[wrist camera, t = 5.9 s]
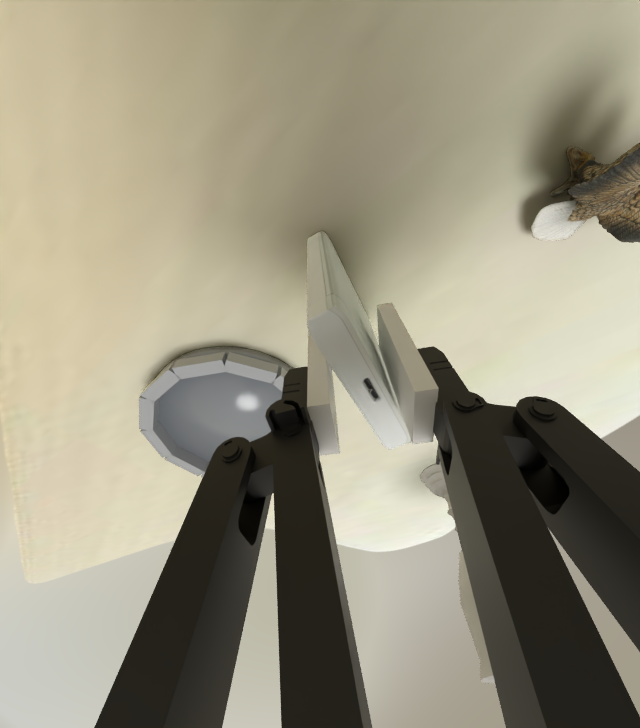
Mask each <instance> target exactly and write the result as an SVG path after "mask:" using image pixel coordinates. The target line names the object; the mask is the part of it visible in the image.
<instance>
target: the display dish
mask: <svg viewBox="0 0 640 728" xmlns="http://www.w3.org/2000/svg"><path fill="white" fill-rule="evenodd" d="M289 369H293V368H292V367H291V366H289V365H287V364H286V363H284V362H282V361H281V360H279V359H277V358H274V357H272V356H270V355H268V354H265V353H262V352H259V351H255V350H250V349H246V348H239V347H209V348H203V349H199V350H194V351H191V352H189V353H186V354H183V355H181V356H180V357H178V358H176V359H174V360H173V361H171V362H170V363H169V364H168V365H166V366H165V367H164V368H163V369H162V371H161V372H160V373H159V374H158V376H157V377H156V378H155V379H154V380H153V381H152V382H151V383H150V384H149V385H148V386H147V387H146V388H145V389H144V391H143V392H142V394H141V396H140V397H139V429H141V433H142V434H143V435H144V436H145V437H146V439H147V440H148V441H149V442H150V443H151V445H152V446H153V447H154V448H155V449H156V451H157V452H158V453H159V454H160V456H161V457H165V460H167V461H169V462H171V463H173V464H175V465H177V466H179V467H181V468H183V469H185V470H187V471H189V472H191V473H193V474H195V475H197V476H199V475H201V474H202V476H201V477H203V476H204V474H205V472H206V469H207V467H208V465H209V462H210V460H211V458H212V455H213V453H214V452H215V450H216V449H217V447H218V446H219V445H220V444H222V443H223V442H224V441H226V440H228V439H230V438H234V437H244V438H245V439H247V440H248V441H249V442H251V441H254V440H256V439H258V438H261V437H263V436H265V435H267V434H268V433H269V432H271V429H270V427H269V425H268V422H267V420H266V417H265V415H266V411H267V409H268V408H269V407H270V405H272V404H273V403H274V402H276V401H278V400H280V399H281V398H282V390H283V382H284V377H285V375H286V374H287V372H288V371H289Z"/></svg>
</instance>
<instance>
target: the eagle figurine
mask: <svg viewBox="0 0 640 728" xmlns="http://www.w3.org/2000/svg"><path fill="white" fill-rule="evenodd" d="M566 153H567V157H568V159H569V162H570V166H571V177H570V178H569V179H568V180H567V181H566V182H565V183H564V184H563V185H562V186H561V187H559V188H556V189H555V190H553V191H552V192H551V193H550V195H551V196H555V195H558V194H560V193H562V192H563V191H565V190H567V189H568V188H570V189H569V190H568V194H570V195H571V197H570V200H569V201H564V202H558V203H553V204H550V205H548V206H546V207H544V208H542V209H541V210H540V211H539V213H538V214H537V216H536V217H535V220H534V222H533V224H532V226H531V231H532V236H533V237H534V238H537V239H538V240H547V241H557V240H564V239H567V238H568V237H570V236H572V234H574V233H575V231H576V230H577V229H578V228H579V227H580V226H581V225H582V224H583V223H584V222H585V221H586V220H587V219H589V218H591V217H593V216H597V217H598V219H599V224H601V225H602V227H603V228H604V229H607V232H609V233H611V234H612V235H613V236H614V237H615V238H616V239H618V240H619V241H621V242H632V243H633V242H640V143H638V144H637V145H635V146H634V147H632V148H631V149H630V150H628V151H627V152H626V153H625V154H624V155H622V156H621V157H620V158H618V159H617V160H616V161H615V162H613V163H612V164H610V165H603V164H601V163H596V162H595V158H593V157H592V155H591V153H588V152H585V151H583V150H581V149H580V148H578V147H574V148H573V147H568V148H567V152H566Z"/></svg>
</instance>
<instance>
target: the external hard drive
mask: <svg viewBox="0 0 640 728" xmlns="http://www.w3.org/2000/svg"><path fill="white" fill-rule="evenodd" d="M307 326H308V330H309V333H310V335H311V337H312V339H313V340H314V342H315V343H316V345H317V346H318V348H319V349H320V351H321V352H322V354H323V355H324V357H325V358H326V360H327V361H328V363H329V364H330V366H331V367H332V369H333V370H334V372H335V373H336V375H337V376H338V378H339V379H340V381H341V382H342V384H343V385H344V387H345V389H346V390H347V392H348V393H349V395H350V396H351V398H352V399H353V401H354V402H355V403H356V405H357V406H358V408H359V409H360V411H361V413H362V414H363V416H364V417H365V419H366V420H367V422H368V423H369V425H370V426H371V428H372V430H373V431H374V433H375V434H376V436H377V437H378V439H379V440H380V442H381V443H382V445H383V446H384V447H386V448H388V449H390V450H391V449H394V448H397V447H400V446H402V445H405V444H408V443H411V438H410V435H409V432H408V429H407V427H406V424H405V421H404V418H403V415H402V412H401V409H400V407H399V404H398V401H397V398H396V395H395V392H394V390H393V387H392V384H391V381H390V378H389V375H388V372H387V370H386V367H385V364H384V361H383V358H382V355H381V352H380V350H379V345H378V342H377V340H376V337H375V334H374V332H373V329H372V327H371V324H370V321H369V319H368V316H367V314H366V312H365V310H364V308H363V306H362V304H361V302H360V300H359V298H358V296H357V294H356V292H355V289H354V287H353V285H352V283H351V281H350V279H349V277H348V275H347V273H346V271H345V269H344V267H343V265H342V263H341V261H340V259H339V257H338V255H337V253H336V251H335V249H334V247H333V245H332V243H331V241H330V239H329V237H328V235H327V234H326V233H325V232H323V231H320V232H318V233H316V234H314V235H313V236H311V237H309V238H308V240H307Z"/></svg>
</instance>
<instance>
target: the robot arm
mask: <svg viewBox="0 0 640 728" xmlns="http://www.w3.org/2000/svg"><path fill="white" fill-rule="evenodd" d="M377 317H378V335H379V350H380V352H381V355H382V358H383V361H384V364H385V367H386V370H387V372H388V375H389V378H390V381H391V384H392V387H393V390H394V392H395V395H396V398H397V401H398V404H399V407H400V409H401V412H402V415H403V418H404V421H405V424H406V427H407V429H408V432H409V435H410V438H411V441H412V444H417V443H425V442H433V436H434V434H435V436H436V438H437V440H438V450H437V458H436V465H439V464H440V463H441V467H442V471H443V475H444V479H445V483H446V487H447V491H448V495H449V499H450V503H451V507H452V511H453V515H454V519H455V523H456V527H457V531H458V535H459V540H460V544H461V547H462V552H463V556H464V560H465V564H466V568H467V572H468V576H469V580H470V584H471V588H472V592H473V596H474V600H475V604H476V608H477V612H478V616H479V620H480V624H481V628H482V632H483V636H484V640H485V644H486V648H487V652H488V656H489V660H490V664H491V668H492V672H493V676H494V680H495V684H496V688H497V693H498V697H499V701H500V705H501V708H502V713H503V717H504V721H505V725H506V728H640V717H639V714H638V712H637V710H636V708H635V706H634V704H633V702H632V700H631V698H630V696H629V694H628V692H627V690H626V688H625V686H624V683H623V681H622V679H621V677H620V675H619V673H618V671H617V669H616V667H615V665H614V663H613V661H612V659H611V657H610V655H609V653H608V651H607V649H606V647H605V644H604V642H603V640H602V639H601V636H600V634H599V632H598V630H597V628H596V626H595V624H594V622H593V620H592V618H591V616H590V614H589V612H588V610H587V607H586V605H585V603H584V602H583V600H582V597H581V595H580V593H579V591H578V589H577V587H576V585H575V583H574V581H573V579H572V577H571V575H570V573H569V571H568V568H567V567H566V564H565V562H564V560H563V558H562V556H561V554H560V552H559V550H558V548H557V546H556V544H555V542H554V540H553V538H552V536H551V534H550V532H549V530H550V531H551V532H552V533H553V535H554V536H555V538H556V539H557V540H558V542H559V543H560V544H561V546H562V547H563V548H564V550H565V551H566V553H567V554H568V555H569V557H570V558H571V559H572V561H573V562H574V563H575V565H576V566H577V567H578V569H579V570H580V571H581V573H582V574H583V575H584V577H585V578H586V580H587V581H588V582H589V584H590V585H591V586H592V588H593V589H594V590H595V592H596V593H597V594H598V596H599V597H600V598H601V600H602V601H603V602H604V604H605V605H606V606H607V608H608V609H609V611H610V612H611V613H612V615H613V616H614V617H615V619H616V620H617V621H618V623H619V624H620V625H621V627H622V628H623V629H624V631H625V632H626V634H627V635H628V636H629V638H630V639H631V640H632V642H633V643H634V644H635V646H636V647H637V648H638V650H639V651H640V472H639V471H638V470H637V469H636V468H634V467H633V466H632V465H631V464H630V463H629V462H627V461H626V460H625V459H624V458H623V457H621V456H620V455H619V454H618V453H617V452H616V451H615V450H613V449H612V448H611V447H610V446H609V445H607V444H606V443H605V442H604V441H603V440H602V439H600V438H599V437H598V436H597V435H596V434H595V433H593V432H592V431H591V430H590V429H589V428H588V427H586V426H585V425H584V424H583V423H582V422H581V421H579V420H578V419H577V418H576V417H575V416H574V415H572V414H571V413H570V412H569V411H568V410H567V409H565V408H564V407H563V406H561V405H560V404H558V403H557V402H555V401H552V400H550V399H547V398H542V397H536V396H534V397H526V398H523V399H521V400H520V401H519V402H518V403H517V405H516V407H513V406H503V405H494V404H489V403H486V401H485V400H484V399H483V398H482V397H480V396H479V395H477V394H475V393H472V392H469V391H468V389H467V388H466V386H465V385H464V383H463V382H462V380H461V379H460V377H459V376H458V374H457V373H456V371H455V370H454V368H452V365H451V364H450V362H448V359H447V358H446V356H445V355H444V353H443V352H441V351H440V350H438V349H437V348H435V347H427V348H421V349H417V348H416V346H415V344H414V342H413V341H412V339H411V337H410V335H409V333H408V331H407V330H406V328H405V326H404V324H403V322H402V320H401V319H400V317H399V315H398V313H397V311H396V309H395V308H394V306H393V304H392V303H387V304H381V305H377ZM265 417H266V420H267V422H268V425H269V427H270V429H271V432H269V433H268V434H267V435H265V436H263V437H261V438H258V439H256V440H254V441H251V442H249V441H248V440H247V439H245V438H244V437H234V438H230V439H228V440H226V441H224V442H223V443H222V444H220V445H219V446H218V447H217V449H216V450H215V452H214V453H213V455H212V458H211V460H210V462H209V465H208V467H207V469H206V472H205V474H204V476H203V478H202V481H201V483H200V485H199V488H198V490H197V492H196V495H195V497H194V499H193V502H192V504H191V506H190V508H189V511H188V513H187V515H186V518H185V520H184V522H183V525H182V527H181V529H180V532H179V534H178V536H177V538H176V541H175V543H174V546H173V548H172V550H171V552H170V555H169V557H168V559H167V562H166V564H165V566H164V568H163V571H162V573H161V575H160V578H159V580H158V582H157V585H156V587H155V589H154V592H153V594H152V596H151V598H150V601H149V603H148V605H147V608H146V610H145V612H144V615H143V617H142V619H141V621H140V624H139V626H138V628H137V631H136V633H135V635H134V638H133V640H132V642H131V645H130V647H129V649H128V651H127V654H126V656H125V659H124V661H123V663H122V665H121V668H120V670H119V672H118V675H117V677H116V679H115V682H114V684H113V686H112V688H111V691H110V693H109V695H108V698H107V700H106V702H105V705H104V707H103V709H102V711H101V714H100V716H99V719H98V721H97V723H96V725H95V727H94V728H222V725H223V720H224V715H225V710H226V705H227V701H228V697H229V692H230V687H231V682H232V678H233V673H234V668H235V664H236V659H237V654H238V650H239V645H240V640H241V635H242V631H243V626H244V621H245V617H246V612H247V607H248V603H249V598H250V593H251V589H252V584H253V579H254V575H255V570H256V565H257V561H258V556H259V551H260V546H261V542H262V537H263V533H264V528H265V523H266V519H267V514H268V509H269V505H270V500H271V495H272V493H274V511H275V541H276V571H277V599H278V600H277V601H278V628H279V629H278V631H279V661H280V690H281V721H282V728H372V724H371V719H370V714H369V708H368V704H367V698H366V693H365V688H364V683H363V678H362V673H361V667H360V662H359V657H358V652H357V647H356V642H355V637H354V632H353V626H352V621H351V616H350V611H349V606H348V601H347V595H346V590H345V586H344V581H343V575H342V570H341V565H340V560H339V554H338V549H337V544H336V539H335V534H334V529H333V524H332V518H331V513H330V508H329V503H328V498H327V493H326V488H325V482H324V477H323V472H322V467H321V464H320V460H319V451H320V455H321V456H322V455H330V454H337V453H340V449H339V438H338V428H337V417H336V407H335V396H334V386H333V375H332V367H331V366H330V364H329V363H328V361H327V360H326V358H325V357H324V355H323V354H322V352H321V351H320V349H319V348H318V346H317V345H316V343H315V342H314V340H313V339H312V337H311V335H310V333H309V330H308V367H301V368H294V369H289V371H288V372H287V374H286V375H285V377H284V382H283V390H282V398H281V399H280V400H278V401H276V402H274V403H273V404H272V405H270V407H269V408H268V409H267V411H266V415H265ZM548 528H549V530H548Z"/></svg>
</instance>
